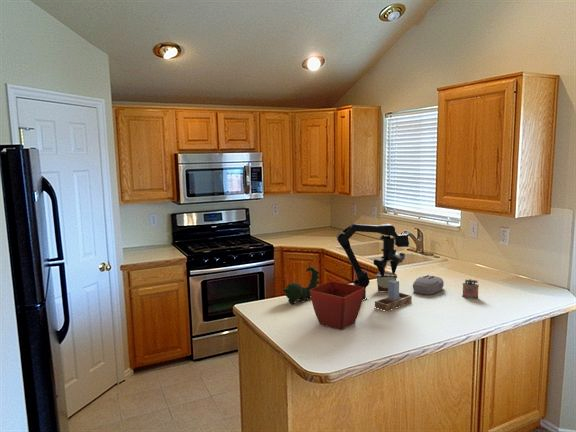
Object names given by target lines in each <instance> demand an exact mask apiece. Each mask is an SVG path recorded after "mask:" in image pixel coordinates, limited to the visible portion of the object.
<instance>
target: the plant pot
mask: <svg viewBox="0 0 576 432" xmlns="http://www.w3.org/2000/svg"><path fill="white" fill-rule="evenodd" d="M364 289H365V288H364V287H361V286H356V285H354V284H352V283H345V282H340V281H334V280H331V281H327V282H325V283H323V284H320V285H317V287H315V288H313V289H310V295H311V296H310V297H311V300H310V301H311V305H312V307H313V308H312V309H314V310H313V311H314V314H315V316H316V318H317V322H318V323H320V325H322V324H323V326H326V325H327V327H329V326H330V328H332V329H337V330H344V329H345V328H348V327H349V326H351V325H353V324H354V323H355V322H356V321H357V318H358V316H359V314H360V309H361V307H362V303H363V301H364V300H363V295H364ZM365 290H366V289H365ZM362 300H363V301H362ZM352 323H353V324H352ZM347 326H348V327H347Z"/></svg>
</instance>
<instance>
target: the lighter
mask: <svg viewBox="0 0 576 432" xmlns="http://www.w3.org/2000/svg"><path fill="white" fill-rule="evenodd" d="M478 281H479V280H476V279H471V278H470V279H465V281H464V282H463V283H462V294H461V295H462V296H461V297H462V298H467V299H473V300H478V299H479V286H480V285H479V284H478Z"/></svg>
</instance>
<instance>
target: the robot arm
mask: <svg viewBox="0 0 576 432" xmlns="http://www.w3.org/2000/svg"><path fill="white" fill-rule="evenodd" d="M356 232H361V233H374V234H375V233H377V234H380V235H381V236H379V239H380V240H381V241H382V245H383V246H382V248H381V251H382V256H381V258H374V260H373V266H375V267H376V268H377V269H378V273H380V274H381V276H382V277H384V274H385V272H386V271H385V270H386V268H387V264H388V263H389V264H390V268H391V273H393V274H396V270H397V267H398V265H399V264H401V263H403V261H404V260H405V257H406V255H405V254H406V253H404V252H398V253H397V250H396V248H395V246H396V247H397V248H408V247H409V246H410V241H409V237H408V234H407V233H404V234H398V233H397V232H396V228H395V227H394V226H393V225H392V224H391V223H382V224H381V223H380V224H365V223H364V224H363V223H361V224H360V223H354V222H353V223H351V224H350V225H349V226H347V227H345V228H344V229H343V230H342V231H339V232H338V233H336V240H337V242H338V243H339V245H340V246H341V248H342V249H343V250H344V252H345V254H346V256H347V258H348V260H349V262H350V264H351V266H352V268H353V270H354V273H355V277H356V279H355V280H354V281H353V283H352V285H356V286H361V287H364V288H365V289H364V295H363V299H365V298H366V300H368V299H367V298H368V297H366V296H367V295H366V294H367V293H366V291H367V287H368V286H369V285H370V277H369V275H368V271H366V269H362V267H361V265H360V263H359V261H358V260H357V257H356V255H355V253H354V251H353V249H352V246H351V243H350V238H351V237H352V236H353V235H354V234H355V233H356Z"/></svg>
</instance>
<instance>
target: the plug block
mask: <svg viewBox="0 0 576 432" xmlns="http://www.w3.org/2000/svg"><path fill="white" fill-rule="evenodd" d="M399 292H400V281H399V280H397V279H396V280H390V281H388V292H387V297H388V299H389V300H392V301H397V300H399Z"/></svg>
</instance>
